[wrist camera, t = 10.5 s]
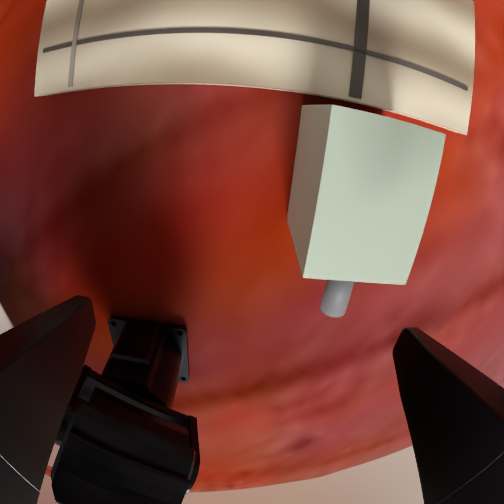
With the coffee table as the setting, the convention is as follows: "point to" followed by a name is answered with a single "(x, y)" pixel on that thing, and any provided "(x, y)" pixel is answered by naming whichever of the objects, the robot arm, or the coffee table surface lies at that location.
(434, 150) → the block
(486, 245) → the coffee table surface
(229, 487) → the coffee table surface
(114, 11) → the birch board
